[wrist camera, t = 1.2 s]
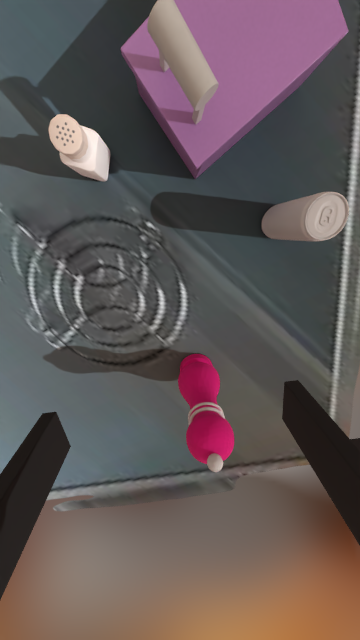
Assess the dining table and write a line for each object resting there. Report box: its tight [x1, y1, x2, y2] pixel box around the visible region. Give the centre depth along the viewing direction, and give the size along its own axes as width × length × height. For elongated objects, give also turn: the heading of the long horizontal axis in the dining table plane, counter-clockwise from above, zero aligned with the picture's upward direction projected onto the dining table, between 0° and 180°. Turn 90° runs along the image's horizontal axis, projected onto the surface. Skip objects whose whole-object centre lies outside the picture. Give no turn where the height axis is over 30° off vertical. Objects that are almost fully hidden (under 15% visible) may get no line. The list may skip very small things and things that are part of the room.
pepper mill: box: [178, 354, 234, 472], centre depth 34 cm, size 7×7×20 cm
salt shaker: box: [48, 114, 111, 181], centre depth 26 cm, size 4×4×10 cm
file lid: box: [121, 0, 348, 170], centre depth 18 cm, size 18×12×7 cm
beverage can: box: [262, 192, 349, 241], centre depth 29 cm, size 5×5×12 cm
